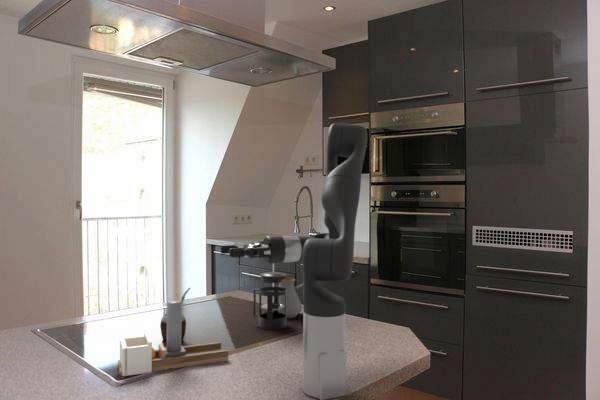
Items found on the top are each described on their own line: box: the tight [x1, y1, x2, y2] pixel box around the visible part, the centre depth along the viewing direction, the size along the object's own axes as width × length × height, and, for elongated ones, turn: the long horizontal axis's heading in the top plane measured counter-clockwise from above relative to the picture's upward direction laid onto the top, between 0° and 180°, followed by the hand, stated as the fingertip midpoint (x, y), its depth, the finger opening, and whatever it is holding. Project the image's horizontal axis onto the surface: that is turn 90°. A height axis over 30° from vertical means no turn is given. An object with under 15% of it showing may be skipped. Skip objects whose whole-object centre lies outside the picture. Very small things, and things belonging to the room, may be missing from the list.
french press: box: [252, 263, 288, 331], centre depth 153 cm, size 12×9×23 cm
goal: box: [119, 331, 153, 377], centre depth 114 cm, size 9×6×7 cm
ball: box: [152, 346, 156, 359], centre depth 115 cm, size 4×4×4 cm
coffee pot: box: [278, 277, 303, 319], centre depth 166 cm, size 21×12×15 cm, turn 89°
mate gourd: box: [159, 287, 191, 344], centre depth 135 cm, size 8×8×15 cm
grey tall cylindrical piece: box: [158, 300, 186, 358], centre depth 118 cm, size 6×6×14 cm
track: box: [117, 341, 229, 377], centre depth 118 cm, size 8×26×2 cm, turn 115°
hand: (225, 251), depth 123 cm, fingers open, 8 cm apart
